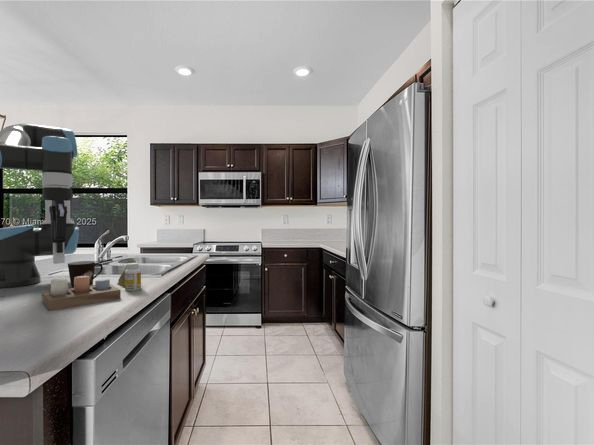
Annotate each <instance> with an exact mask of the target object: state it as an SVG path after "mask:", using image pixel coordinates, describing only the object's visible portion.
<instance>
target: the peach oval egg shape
mask: <svg viewBox="0 0 594 445" xmlns="http://www.w3.org/2000/svg"><path fill="white" fill-rule="evenodd" d="M83 292H90V287H89V276H78V277H74V294H76V293H83Z"/></svg>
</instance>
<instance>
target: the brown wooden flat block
mask: <svg viewBox="0 0 594 445" xmlns="http://www.w3.org/2000/svg"><path fill="white" fill-rule="evenodd" d="M89 287H90V292H83V293H76V294H74V288H71V287H70V288H69V287H68V295H63V296H56V297H52V296H51V290H46V291H41V300H42V301H41V302H42V303H43V304H44V305H45V307H46V308H47V309H48V311H54V310H60V309H67V308H73V307H79V306H83V305H84V306H85V305H89V304H90V305H91V304H97V303H103V302H109V301H115V300H120V299H121V296H122V295H121V293H122V292H121V291H122V290H121V289H120V288H118V287H116V286H114V285H113V284H111V283H110V289H104V290H97V291H96V290H95V284H93V285H90V286H89Z"/></svg>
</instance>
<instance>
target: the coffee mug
mask: <svg viewBox="0 0 594 445" xmlns="http://www.w3.org/2000/svg"><path fill="white" fill-rule="evenodd" d="M96 266H100V269H99V271H98V273H97V274H95V270H96V269H95V268H96ZM67 268H68V275H69V281H70V288H74V277H78V276H89V286H90V285H94V279H96V278H97V277H98V276H99V275H100V274H101V273H102V271H103V268H104V267H103V265H102V264H101V263H96V261H94V260H81V261H78V260H77V261H72V262H68V263H67Z"/></svg>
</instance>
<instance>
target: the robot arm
mask: <svg viewBox="0 0 594 445" xmlns="http://www.w3.org/2000/svg"><path fill="white" fill-rule="evenodd" d="M77 145H78V144H77V139H76V135H75V133H74V131H73V130H71V129H68V128H62V127H56V126H49V125H48V126H47V125H39V124H32V123H18V124H13V125H8V126H6V127H3V128H2V129H1V130H0V169H3V170H4V169H6V170H7V169H8V170H22V171H23V170H25V171H36V172H41V182H42V183H41V185H42V186H43V188H42V190H41V191H42V199H43V200H44V202H45V203H44V205H45V206H44V207H45V208H44V209H45V210H44V211H45V212H44V213H45V219H44V220H43V221H42V222H41V223H40V227H36V226H35V225H34V224H25V225H24V224H23V225H15V226H9V227H8V226H7V227H2V228H0V288H3V289H4V288H5V289H6V288H16V287H24V286H30V285H34V284H38V283H40V282H41V279H42V278H41V275H40V272H39V270H38V268H37V265H36V261H35V260H36V259H35V258H36V257H45V256H52V259H53V261H52V263H53V265H54V264H55V265H56V264H65V262H66V261H65V260H66V259H65V258H66V256H65V255H71V254H72V255H73V254H74V253H75V252H76V251H77V247H78V240H79V235H80V234H79V232H80V228H79V227H78V226H76V225H75V224H76V222H75V221H73V220H72V219H71V201H72V200H73V188H72V187H73V181H75V178H74V177H73V162H74V159H75V158H76V157H78V153H79V152H78V146H77Z"/></svg>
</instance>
